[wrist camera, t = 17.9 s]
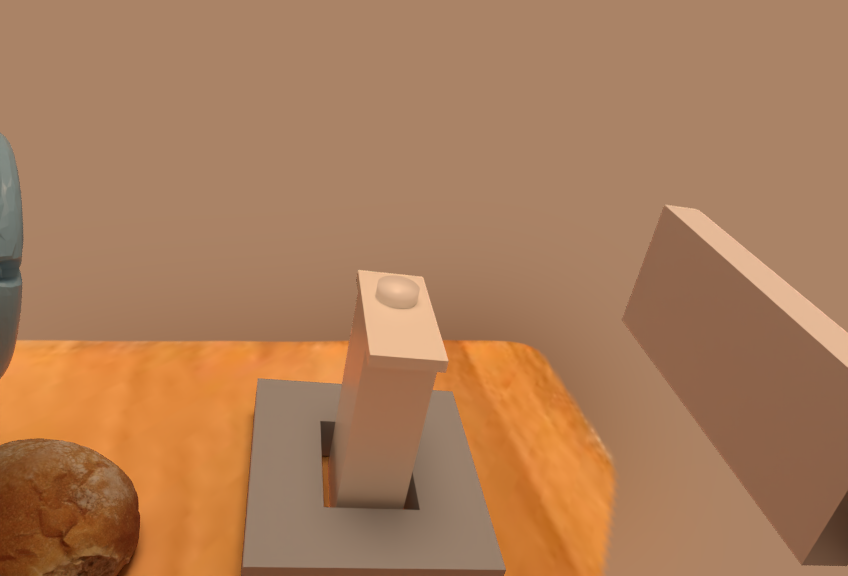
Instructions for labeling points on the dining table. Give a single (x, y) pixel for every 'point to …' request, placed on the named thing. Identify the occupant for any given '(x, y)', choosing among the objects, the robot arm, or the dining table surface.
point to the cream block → (384, 392)
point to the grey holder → (360, 527)
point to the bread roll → (64, 511)
